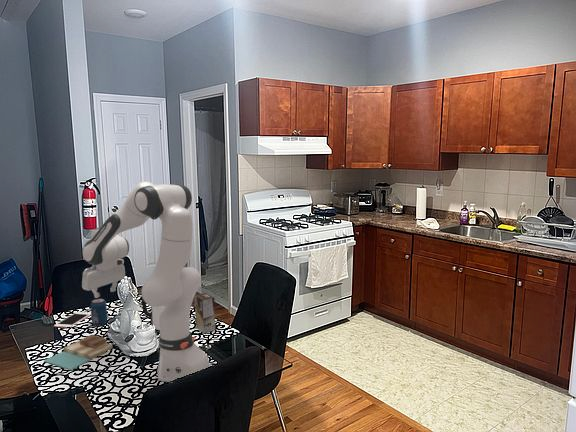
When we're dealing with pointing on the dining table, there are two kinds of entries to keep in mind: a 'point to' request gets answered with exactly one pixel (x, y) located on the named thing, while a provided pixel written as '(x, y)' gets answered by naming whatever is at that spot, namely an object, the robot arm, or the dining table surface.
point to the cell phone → (73, 319)
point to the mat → (66, 360)
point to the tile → (92, 341)
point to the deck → (87, 350)
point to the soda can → (98, 312)
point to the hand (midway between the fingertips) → (105, 294)
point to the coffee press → (153, 313)
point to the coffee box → (205, 312)
